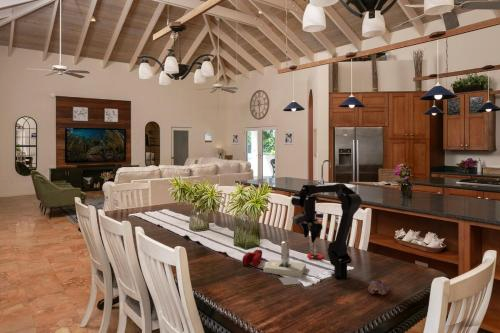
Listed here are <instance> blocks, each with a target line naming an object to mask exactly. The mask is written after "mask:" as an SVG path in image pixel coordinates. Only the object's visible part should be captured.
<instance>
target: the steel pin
mask: <svg viewBox="0 0 500 333" xmlns="http://www.w3.org/2000/svg"><path fill="white" fill-rule="evenodd" d="M280 242H281V243H280V244H281V246H280V248H281V253H280V254H281V255H280V256H281V257H280V258H281V260H280V261H281V267H287V268H289V262H290V241H288V240H282V241H280Z"/></svg>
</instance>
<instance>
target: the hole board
mask: <svg viewBox="0 0 500 333" xmlns="http://www.w3.org/2000/svg"><path fill="white" fill-rule="evenodd" d="M306 269H307V263H305V262H297V261H296V262H295V261H289V268H287V267H281V260H278V259H272V258H271V259H269V260H268V262H267V263H265V265H264V266H263V273H267V274H276V275H283V276H289V277H298V276H299V277H300V278H301V277H302V276H303V275H304V272H305V271H306Z"/></svg>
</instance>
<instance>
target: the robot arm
mask: <svg viewBox="0 0 500 333" xmlns="http://www.w3.org/2000/svg"><path fill="white" fill-rule="evenodd" d="M323 193H325V194H326V193H335V194H336V197H337V199H338V200H339V201H340V202H341V204H340V208H341V211H342V212H341V213H342V214H341V217H340V220H339V221H340V222H339V224H338V228H337V232H336V235H335V238H334V241H331V242H329V244H328V248H327V250H326V251H327V255H328V258H329V262H330V265H332V266H333V272H334V273H331V274H330V275H331V276H332V277H333V278H334V279H336V280H337V281H341V280H342V281H343V280H350V279H351V277H350V276H349V275H348V264H351V263H352V261H353V259H352V257H351V256H350V254H349V253H348V246H347V240H348V236H349V233H350V231H351V230H350V229H351V226H352V223H353V220H354V219H353V218H354V215H355V214H356V213H357V211H359V210H360V207H361V205H362V202H363V200H362V198H361V196H360V194H358V193H356V192H355V191H354V190H353V189H351V188H350V187H348V186H347V185H346V184H345V183H343V182H339V183H334V184H333V183H331V184H319V183H314V182H313V183H305V184H302V187H301V189H300V190H299V192H295V193H294V195H293V196H292V198H291V201H290V202H291V205H292V206H294V207H299V208H303V209H302V210H301V213H299V214H296V215H294V216H292V217H291V220H292V221H293V224H295V225H296V226H298V225H300V227H301V228H302V231H303V235H304V238H307V237H308V236H309V235H308V234H309V232H310V240H311V243H314V241H315V239H317V237H318V235H319V234H320V232H321V231H322V230H323V228H324V227H323V226H324V225H323V224H322V223H321V222H319V221H318V219H316V215H317V214H318V211H317V210H316V201H320V199H319V198H318V196H316V195H318V194H323Z"/></svg>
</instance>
